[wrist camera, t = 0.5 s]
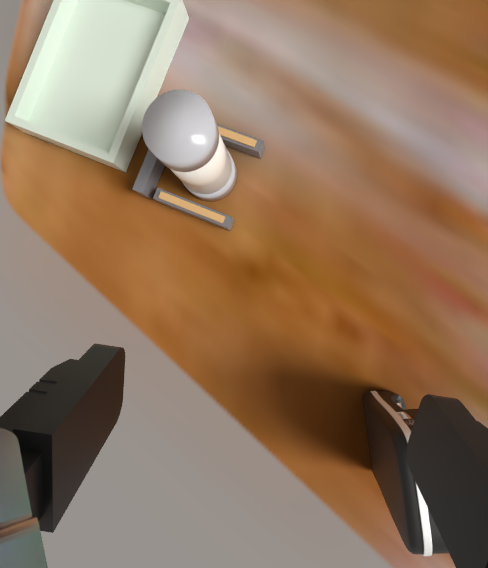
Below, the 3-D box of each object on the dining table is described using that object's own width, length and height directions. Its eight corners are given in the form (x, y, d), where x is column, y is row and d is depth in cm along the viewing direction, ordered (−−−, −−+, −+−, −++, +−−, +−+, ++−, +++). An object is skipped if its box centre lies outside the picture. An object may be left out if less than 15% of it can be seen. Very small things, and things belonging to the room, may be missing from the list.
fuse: (197, 142, 35) (158, 80, 25) (245, 160, 34) (224, 103, 24) (177, 190, 35) (131, 147, 25) (224, 209, 34) (195, 172, 24)
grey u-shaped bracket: (174, 115, 35) (167, 103, 33) (264, 147, 34) (263, 138, 32) (141, 195, 35) (132, 189, 33) (230, 231, 34) (226, 227, 32)
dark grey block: (421, 472, 31) (492, 571, 20) (372, 475, 32) (414, 573, 20) (408, 384, 32) (472, 431, 20) (360, 388, 32) (395, 437, 21)
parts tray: (84, -16, 37) (69, -39, 34) (189, 18, 35) (181, -3, 33) (24, 132, 37) (4, 120, 34) (125, 172, 35) (113, 163, 33)
